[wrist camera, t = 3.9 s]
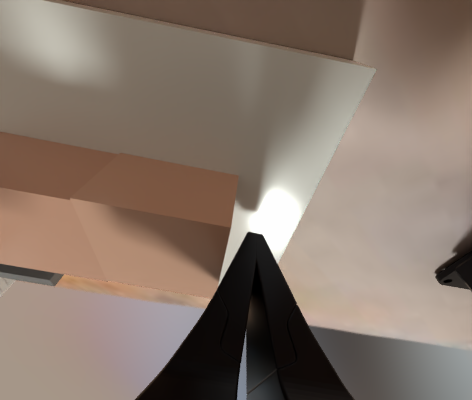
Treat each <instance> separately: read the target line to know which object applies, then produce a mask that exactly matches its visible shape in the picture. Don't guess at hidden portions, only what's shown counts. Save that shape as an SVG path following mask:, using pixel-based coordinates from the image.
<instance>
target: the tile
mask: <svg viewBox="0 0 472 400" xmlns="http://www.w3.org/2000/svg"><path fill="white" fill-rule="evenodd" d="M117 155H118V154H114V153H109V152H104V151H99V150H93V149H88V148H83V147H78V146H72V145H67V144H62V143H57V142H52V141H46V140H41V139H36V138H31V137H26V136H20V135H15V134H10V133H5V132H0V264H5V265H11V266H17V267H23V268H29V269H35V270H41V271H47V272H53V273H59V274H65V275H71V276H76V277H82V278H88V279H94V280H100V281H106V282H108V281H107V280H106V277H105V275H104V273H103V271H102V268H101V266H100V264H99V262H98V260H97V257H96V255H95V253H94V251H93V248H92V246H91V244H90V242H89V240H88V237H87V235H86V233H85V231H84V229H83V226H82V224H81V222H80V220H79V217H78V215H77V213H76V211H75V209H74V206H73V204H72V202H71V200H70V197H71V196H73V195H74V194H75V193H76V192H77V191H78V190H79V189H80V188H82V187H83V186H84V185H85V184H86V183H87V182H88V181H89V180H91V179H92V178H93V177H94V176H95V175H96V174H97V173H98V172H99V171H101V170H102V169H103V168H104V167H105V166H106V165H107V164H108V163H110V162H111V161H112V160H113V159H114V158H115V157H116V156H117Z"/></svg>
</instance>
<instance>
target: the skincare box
mask: <svg viewBox="0 0 472 400" xmlns="http://www.w3.org/2000/svg"><path fill="white" fill-rule="evenodd" d="M15 281H16V280H13V279H7V278H1V277H0V297H1V296H2V295H3V294H4V292H5V291H6V290H7V289H8V288H9V287H10V286H11V285H12V284H13V283H14V282H15Z"/></svg>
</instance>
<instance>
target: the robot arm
mask: <svg viewBox="0 0 472 400" xmlns="http://www.w3.org/2000/svg"><path fill="white" fill-rule="evenodd" d="M435 278H436V279H437V281H438V282H439V283H440V284H441V285H447V286H452V287H458V288H464V289H469V290H471V291H472V251H471V252H470V253H468V254H467V255H465V256H464V257H462V258H461V259H459V260H458V261H456V262H455V263H454V264H452V265H451V266H449V267H448V268H446V269H445V270H443V271H442V272H440V273H439V274H437V275H436V277H435ZM296 304H297V303H296V301H295V299H294V297H293V294H292V292H291V290H290V288H289V286H288V284H287V282H286V280H285V278H284V276H283V274H282V272H281V270H280V268H279V266H278V264H277V262H276V260H275V258H274V256H273V254H272V252H271V250H270V248H269V246H268V244H267V241H266V239H265V237H264V235H263V234H259V233H254V232H247V234H246V236H245V238H244V240H243V241H242V243H241V245H240V247H239V249H238V251H237V253H236V254H235V256H234V258H233V260H232V262H231V264H230V266H229V268H228V269H227V271H226V273H225V275H224V277H223V279H222V281H221V283H220V284H219V286H218V288H217V290H216V292H215V294H214V295H213V297H212V299H211V301H210V303H209V304H208V306H207V308H206V309H205V311H204V313H203V314H202V316H201V317H200V319H199V320H198V322H197V323H196V325H195V326H194V327H193V329H192V330H191V331H190V333H189V334H188V336H187V337H186V339H185V340H184V341H183V343H182V344H181V345H180V347H179V349H178V350H177V351H176V352H175V354H174V355H173V357H172V358H171V359H170V361H169V362H168V363H167V364H166V366H165V367H164V368H163V369H162V371H161V372H160V373H159V374H158V375H157V376H156V377H155V379H154V380H153V381H152V382H151V383H150V384H149V385H148V386H147V387H146V388H145V389H144V390H143V391H142V393H141V394H140V395H139V396H138V397H137V398H136V399H135V400H237V390H238V379H239V372H240V363H241V357H242V352H243V345H244V339H245V332H246V350H247V351H246V367H247V400H355V399H354V398H353V397H352V395H351V394H350V393H349V392H348V390H347V389H346V387H345V386H344V384H343V383H342V382H341V380H340V378H339V376H338V375H337V373H336V372H335V370H334V368H333V367H332V365H331V363H330V362H329V360H328V358H327V357H326V355H325V353H324V352H323V350H322V349H321V347H320V346H319V344H318V342H317V340H316V338H315V337H314V335H313V333H312V332H311V330H310V328H309V326H308V324H307V322H306V321H305V319H304V317H303V315H302V313H301V311H300V309H299V307H298V305H296Z"/></svg>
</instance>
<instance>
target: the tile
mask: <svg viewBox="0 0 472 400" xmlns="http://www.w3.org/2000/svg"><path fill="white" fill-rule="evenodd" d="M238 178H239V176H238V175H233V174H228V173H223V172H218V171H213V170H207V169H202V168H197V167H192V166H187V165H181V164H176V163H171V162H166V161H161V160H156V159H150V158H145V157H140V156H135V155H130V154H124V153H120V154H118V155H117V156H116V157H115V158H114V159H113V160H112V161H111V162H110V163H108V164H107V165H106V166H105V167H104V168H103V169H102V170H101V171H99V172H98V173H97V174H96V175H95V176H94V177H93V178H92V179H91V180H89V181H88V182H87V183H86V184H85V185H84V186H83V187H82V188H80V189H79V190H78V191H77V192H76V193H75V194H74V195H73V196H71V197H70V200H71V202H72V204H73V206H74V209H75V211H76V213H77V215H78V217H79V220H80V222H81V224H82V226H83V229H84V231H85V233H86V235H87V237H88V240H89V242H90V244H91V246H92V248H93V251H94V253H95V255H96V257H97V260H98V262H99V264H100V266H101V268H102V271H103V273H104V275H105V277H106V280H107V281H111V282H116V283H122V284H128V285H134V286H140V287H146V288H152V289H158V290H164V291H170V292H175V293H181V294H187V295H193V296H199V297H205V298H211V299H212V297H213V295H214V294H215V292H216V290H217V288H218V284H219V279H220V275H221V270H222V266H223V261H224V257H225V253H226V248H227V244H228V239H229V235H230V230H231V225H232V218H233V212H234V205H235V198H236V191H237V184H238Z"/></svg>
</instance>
